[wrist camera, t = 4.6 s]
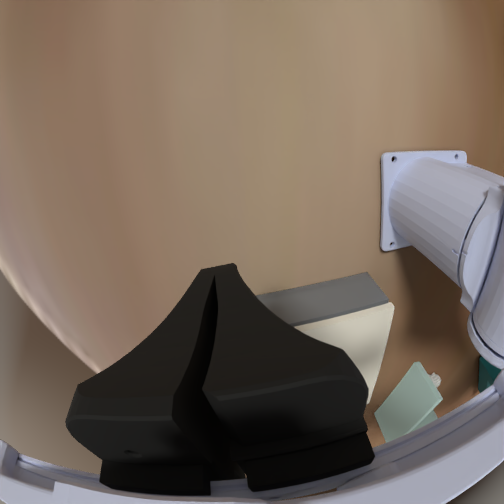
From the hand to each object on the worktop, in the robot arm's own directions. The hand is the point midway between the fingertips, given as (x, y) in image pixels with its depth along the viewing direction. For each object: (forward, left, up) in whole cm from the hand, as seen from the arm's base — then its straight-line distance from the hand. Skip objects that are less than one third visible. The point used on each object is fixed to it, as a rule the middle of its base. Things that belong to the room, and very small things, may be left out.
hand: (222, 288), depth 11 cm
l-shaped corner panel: (-24, +32, -10) cm, 41 cm away
